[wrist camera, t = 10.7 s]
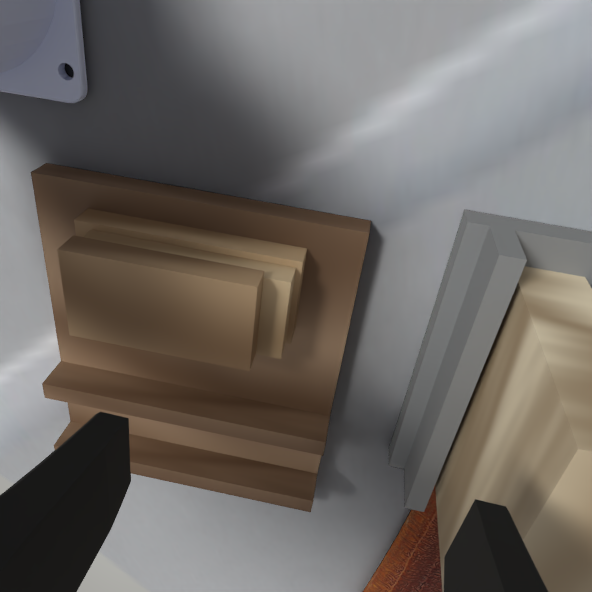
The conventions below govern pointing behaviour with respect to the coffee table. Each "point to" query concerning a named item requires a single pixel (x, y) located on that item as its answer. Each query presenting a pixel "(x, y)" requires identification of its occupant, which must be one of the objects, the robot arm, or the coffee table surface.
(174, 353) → the offcut stack
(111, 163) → the coffee table surface
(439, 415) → the grey channel block
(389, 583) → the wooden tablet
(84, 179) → the walnut rack
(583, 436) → the birch panel
